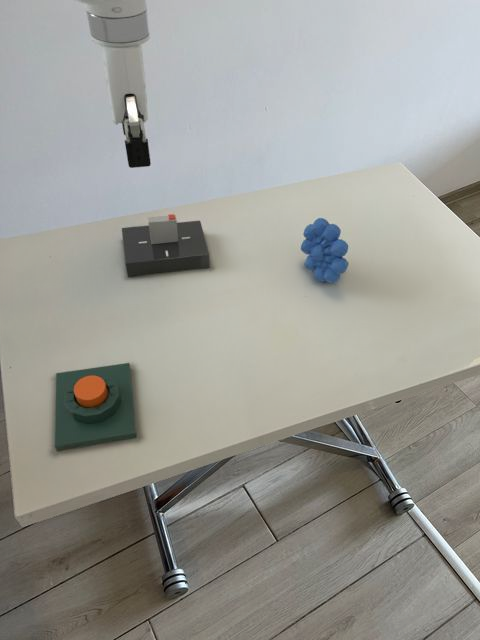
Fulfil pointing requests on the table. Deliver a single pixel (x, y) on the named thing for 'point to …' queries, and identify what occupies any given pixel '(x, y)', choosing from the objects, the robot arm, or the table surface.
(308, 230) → the grapes
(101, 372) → the control block
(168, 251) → the lever switch base
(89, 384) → the button
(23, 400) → the table surface
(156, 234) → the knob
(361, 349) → the table surface
